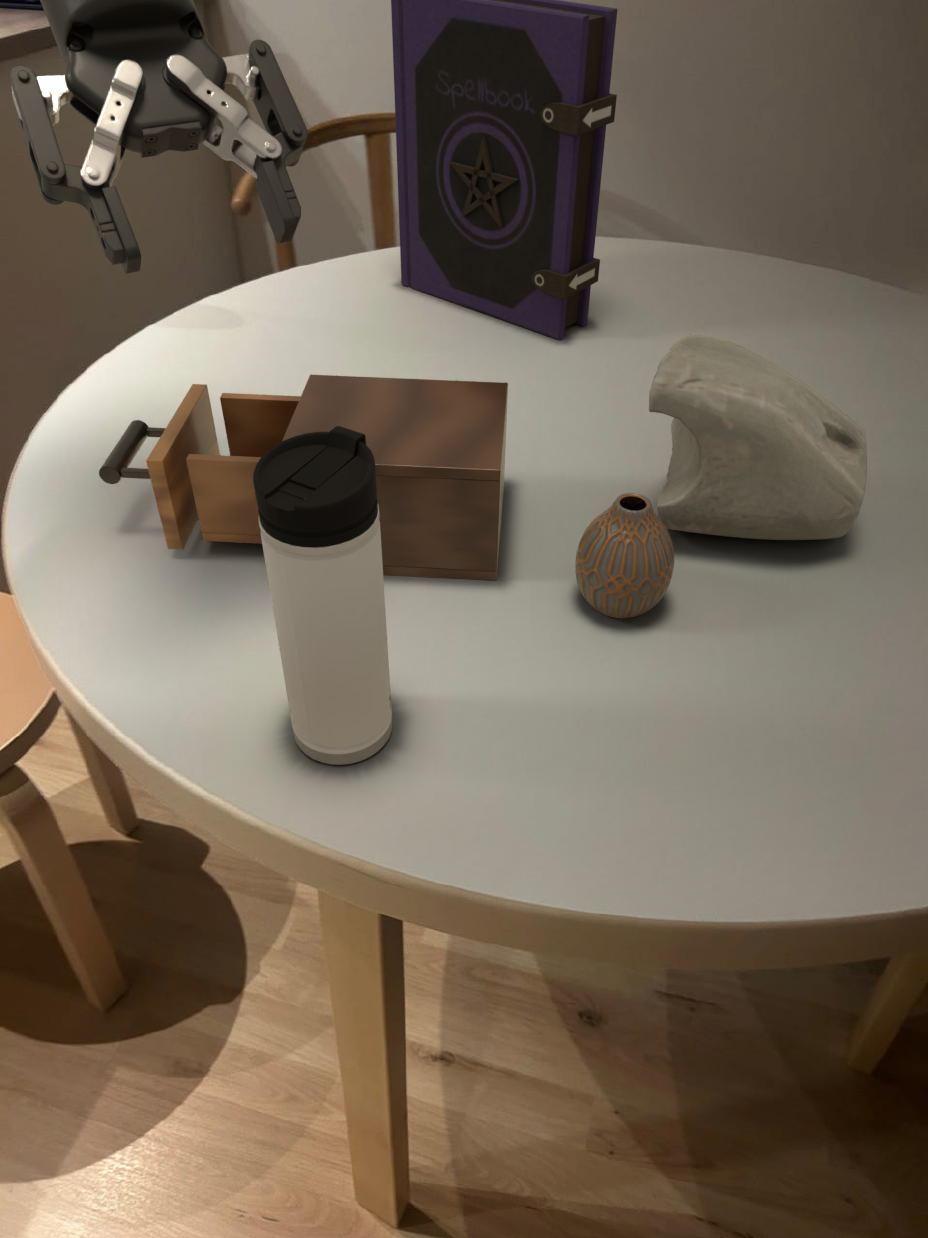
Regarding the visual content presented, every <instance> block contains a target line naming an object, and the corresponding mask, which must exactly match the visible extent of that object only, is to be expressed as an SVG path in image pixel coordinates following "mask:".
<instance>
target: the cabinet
mask: <svg viewBox="0 0 928 1238" xmlns="http://www.w3.org/2000/svg"><path fill="white" fill-rule="evenodd" d="M508 394H509V383H508V382H498V381H497V382H496V381H474V380H473V381H472V380H453V379H451V380H450V379H449V380H448V379H426V378H402V377H401V378H399V377H377V376H375V377H374V376H353V375H352V376H351V375H332V374H331V375H330V374H310V375H309V377H308V379H307V381H306V383H305V386H304V388H303V390H302V393H301V395H300V396H301V398H300V400H299V402H298V405H297V407H296V410H295V412H294V414H293V417H292V419H291V421H290V424H289V426H288V429H287V431H286V433H285V436H284V438H283V441H284V440H287V439H289V438H292V437H294V436H298V435H302V434H306V433H313V432H330V431H331V430H332V429H333V428H335V427H336V426H341V427H344V428H347V429H350V430H353V431H356V432H359V433H362V434H365V437H366V445H367V447H368V448H369V449H370V450H371V452H372V454H373V456H374V460H375V469H376V485H377V501H378V506H379V515H380V517H379V521H380V531H381V548H382V564H383V576H398V577H413V578H414V577H415V578H416V577H418V578H433V579H434V578H436V579H453V580H474V581H493V582H494V581H495V582H497V579H498V569H499V557H500V556H499V554H500V541H501V530H502V529H501V528H502V519H503V518H502V515H503V503H504V493H505V492H504V490H505V472H506V471H505V469H506V449H507V448H506V447H507V446H506V445H507V422H508V396H509V395H508Z"/></svg>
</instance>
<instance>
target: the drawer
mask: <svg viewBox="0 0 928 1238" xmlns="http://www.w3.org/2000/svg"><path fill="white" fill-rule="evenodd" d="M300 398H301V395H281V394H280V395H279V394H256V393H237V392H235V393H234V392H233V393H232V392H228V393H227V392H222V393H221V395H220V396H219V400H220V406H221V411H222V418H223V423H224V428H225V434H226V440H227V446H228V450H229V455H224V454H223V455H221V451H220V447H219V441H218V437H217V436H218V435H217V431H216V426H215V420H214V419H215V418H214V414H213V409H212V404H211V399H210V394H209V388H208V384H203V383H202V384H201V383H192V384H191V386H190V387H189V389H188V391H187V393H186V394H185V396H184V397H183V399H182V401H181V402H180V404H179V405H178V407H177V410H176V411H175V412H174V413H173V416H172V417H171V419H170V420H169V423H168V424H167V426H166V427H153V426H152V427H149V425H148V424H147V423H146V422H145V421H143V420H140V419H134V420H132V421H131V422H130V423H129V425H128V427H127V428H126V429H125V431H124V432H123V434H122V436H120V438H119V440H118V441H117V443H116V444H115V446H114V448H113V449H112V451H111V452H110V454H109V455H108V456H107V458H106V459H105V461H104V463H102V465H101V467H100V468H99V469H98V475H99V477H100V480H101V481H103V482H104V483H106V484H108V485H117V484H118V483H120V481H121V479H139V480H141V479H143V480H150V482H151V487H152V490H153V495H154V497H155V498H154V499H155V502H156V507H157V510H158V511H157V512H158V514H159V518H160V523H161V527H162V530H163V535H164V539H165V543H166V547H167V549H168V550H180V551H183V550H184V548H185V546H186V544H187V542H188V540H189V538H190V536H191V534H192V532H193V530H194V528H195V526H196V524H197V522H199V526H200V531H201V537H202V540H203V541H204V542H220V543H239V544H259V545H262V539H261V529H260V526H259V514H258V505H257V501H256V495H255V489H254V483H253V473H254V470H255V466H256V465H257V463H258V461H259V460H260V458H261V457H262V456H263V455H264V454H265V453H266V452H267V451H268V450H270V449H271V448H272V447H274V446H275V445H277V444H279V443H281V442H282V441H283V438H284V436H285V433H286V431H287V429H288V426H289V424H290V421H291V419H292V417H293V414H294V412H295V410H296V407H297V405H298V402H299V400H300ZM147 438H158V440H157V442H156V444H154V447H153V449H152V450H151V452H150V454H149V455H148V457H147V459H145V462H146V467H147V468H142V467H130V465H131V463H132V462H133V460H134V458H135V457H136V455H137V454H138V452H139V451H140V450H141V448H142V446H143V444H144V443H145V442H146V440H147Z"/></svg>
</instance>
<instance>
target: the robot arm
mask: <svg viewBox="0 0 928 1238" xmlns="http://www.w3.org/2000/svg"><path fill="white" fill-rule="evenodd" d="M39 1H40V4H41V6H42V9H43V11H44V14H45V16H46V19H47V22H48V25H49V28H50V30H51V33H52V36H53V38H54V40H55V43H56V45H57V49H58V50H59V53H60V56H61V58H62V61H63V64H64V66H65V72H64V74H55V75H37V74H36V72H35V71H34V69H32V68H31V67H30V66H28V65H25V64H17V65H15V66H13V67H12V68H11V70H10V73H9V75H10V76H9V77H10V86H11V96H12V102H13V103H12V104H13V109H14V112H15V115H16V117H17V118H16V119H17V121H18V125H19V128H20V131H21V134H22V137H23V141H24V144H25V146H26V150H27V153H28V156H29V160H30V162H31V166H32V169H33V172H34V175H35V178H36V183H37V185H38V188H39V192H40V194H41V197H42V199H43V200H44V201H45V202H47V203H48V204H50V205H54V206H57V205H61V204H63V203H64V202H69V203H76V204H78V205H81V206H82V207H83V208H84V209H85V210H86V211H87V212H88V215H89V216H90V219H91V222H92V225H93V227H94V229H95V233H96V235H97V237H98V240H99V243H100V245H101V248H102V251H103V252H104V256H105V258H107V260H108V261H109V262H110V263H111V264H112V265H113V266H114V265H115V266H116V265H121V267H122V269H123V271H124V273H125V274H126V275H128V274H134V273H139V272H141V265H142V254H141V250H140V246H139V243H138V241H137V238H136V236H135V234H134V230H133V228H132V226H131V223H130V220H129V218H128V215H127V213H126V210H125V207H124V205H123V202H122V200H121V197H120V194H119V192H118V189H117V186H116V185H114V186H113V184H114V181H115V179H117V177H118V175H119V172H120V170H121V168H122V164H123V162H124V160H125V156H126V154H127V151H129V152H133V153H136V154H139V155H140V158H142V159H144V158H150V157H156V156H158V155H161V154H163V153H165V152H168V151H173V152H184V153H185V152H190V151H191V152H192V151H198V150H199V146H200V145H201V144H203V145H204V146H205V147H206V148H208V149H209V150H210V151H212V152H213V153H214V154H216V155H217V156H218V157H219V158H221V159H222V160H224V161H227V162H229V161H232V162H234V163H235V164H237V166H239V167H240V168H242V169H243V170H244V171H246V172H247V173H248V174H250V175H251V176H252V177H253V178H255V183H254V187H255V189H256V192H257V194H258V197H259V200H260V203H261V205H262V209H263V210H264V213H265V216H266V218H267V221H268V224H269V226H270V228H271V231H272V234H273V236H274V239H275V241H276V243H277V244H278V245H279V244H286V243H290V242H292V240H293V238H294V235H295V233H296V230H297V228H298V225H299V223H300V220H301V217H302V206H301V204H300V201H299V198H298V196H297V194H296V193H297V192H296V191H295V188H294V185H293V183H292V181H291V178H290V175H289V172H288V170H287V167H295V166H296V165H297V164H298V163H299V161H300V159H301V155H302V153H303V151H304V148H305V145H306V142H307V139H308V136H309V131H308V128H307V126H306V124H305V121H304V119H303V116H302V115H301V113H300V110H299V108H298V105H297V103H296V101H295V99H294V96H293V95H292V92H291V90H290V88H289V85H288V83H287V80H286V78H285V76H284V74H283V72H282V69H281V67H280V65H279V62H278V61H277V59H276V56H275V54H274V51H273V49H272V47H271V45H270V44H269V43H268V42H267V41H265V40H263V39H254V40H252V41H251V42H250V44H249V48H248V52H246V53H239V54H234V55H227V56H222V55H221V54H220V53H219V52H218V51H217V50H216V49H215V48H214V47H213V46H212V45H211V44H210V42H209V41H208V38H207V37H206V34H205V30H204V27H203V23H202V21H201V18H200V15H199V12H198V10H197V8H196V5H195V2H194V0H39ZM226 84H229V85H233V86H234V87H236V88H237V89H238V90H239V91H240V93H241V95H242V96H243V98H244V100H245V101H247V102H253V104H254V106H255V108H256V111H257V113H258V115H259V117H260V120H261V122H262V124H263V126H264V128H265V129H264V128H263V127H261V126H260V125H259V124H257V123H256V122H255V121H254V120H252V118H251V117H250V114H249V112H248V110H247V109H246V108H245V107H244V106H243V105H242V103H240V102H239V101H237V100H235V99H234V98H233V97H232V96H230V95H229V94H228V93H227V92H226V91H225V88H226ZM66 104H69V105H70V106H71V107H72V108H73V109H74V110H75V111H76V112H77V113H78V114H80V115H81V116H82V117H84V118H85V119H86V120H87V121H89V122H90V123H92V124H93V126H95V127H94V130H93V134H92V138H91V142H90V145H89V148H88V150H87V152H86V156H85V158H84V160H83V163H82V165H75V164H69V163H65V161H64V158H63V155H62V152H61V148H60V146H59V143H58V140H57V136H56V133H55V130H54V127H53V126H55V125H57V124H58V123H59V122H60V120H61V108H62V107H63V106H64V105H66ZM216 118H217V120H218V121H219V122H220V124H221V125H222V127H221V126H219V125H218V124H217V123H215V119H216Z"/></svg>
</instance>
